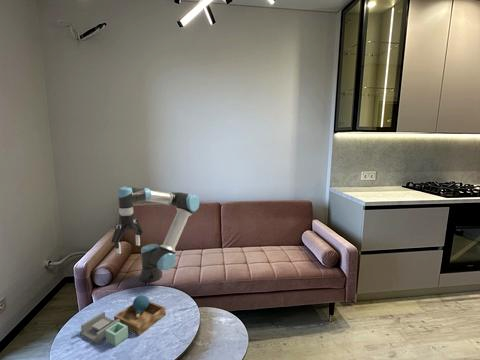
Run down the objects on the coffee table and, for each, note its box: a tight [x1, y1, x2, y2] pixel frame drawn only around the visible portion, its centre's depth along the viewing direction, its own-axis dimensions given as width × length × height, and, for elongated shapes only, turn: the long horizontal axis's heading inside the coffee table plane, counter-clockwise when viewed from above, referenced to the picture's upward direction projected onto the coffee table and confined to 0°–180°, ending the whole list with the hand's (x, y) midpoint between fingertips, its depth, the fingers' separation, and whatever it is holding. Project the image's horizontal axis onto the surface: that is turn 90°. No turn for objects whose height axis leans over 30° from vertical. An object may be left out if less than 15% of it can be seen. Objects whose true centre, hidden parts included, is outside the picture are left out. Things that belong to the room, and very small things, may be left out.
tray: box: [113, 301, 167, 336], centre depth 147 cm, size 18×18×4 cm
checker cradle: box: [79, 311, 120, 346], centre depth 138 cm, size 14×14×5 cm
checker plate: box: [92, 319, 110, 331], centre depth 138 cm, size 6×6×1 cm
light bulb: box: [132, 294, 149, 318], centre depth 151 cm, size 8×8×12 cm
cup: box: [105, 322, 129, 348], centre depth 133 cm, size 7×7×6 cm
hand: (128, 249), depth 162 cm, fingers open, 13 cm apart
